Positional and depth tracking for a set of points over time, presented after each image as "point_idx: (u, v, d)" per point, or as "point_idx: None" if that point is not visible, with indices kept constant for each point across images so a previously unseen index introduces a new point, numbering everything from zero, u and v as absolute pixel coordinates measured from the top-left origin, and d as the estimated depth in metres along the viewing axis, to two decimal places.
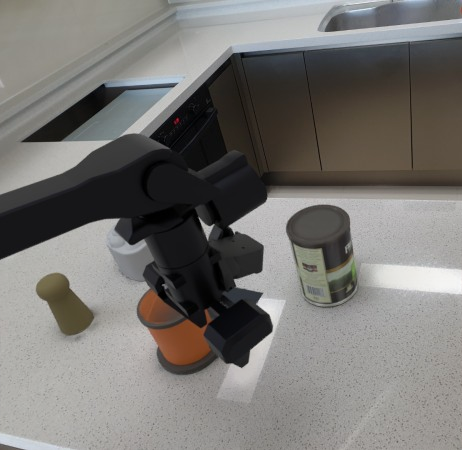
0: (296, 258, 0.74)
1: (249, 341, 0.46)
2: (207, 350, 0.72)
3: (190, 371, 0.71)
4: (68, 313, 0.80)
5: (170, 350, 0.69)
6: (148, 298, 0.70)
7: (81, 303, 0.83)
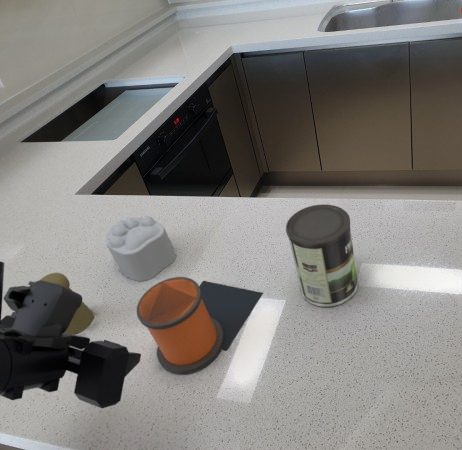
0: (296, 258, 0.74)
1: (116, 380, 0.48)
2: (207, 350, 0.72)
3: (190, 371, 0.71)
4: None
5: (170, 350, 0.69)
6: (148, 298, 0.70)
7: (81, 303, 0.83)
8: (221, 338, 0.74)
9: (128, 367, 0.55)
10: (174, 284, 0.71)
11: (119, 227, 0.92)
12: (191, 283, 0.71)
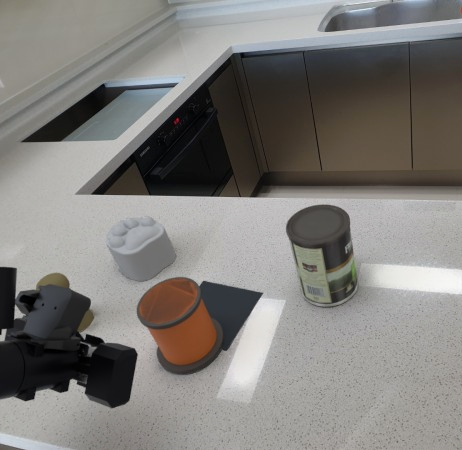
0: (296, 258, 0.74)
1: (125, 381, 0.50)
2: (207, 350, 0.72)
3: (190, 371, 0.71)
4: None
5: (170, 350, 0.69)
6: (148, 298, 0.70)
7: None
8: (221, 338, 0.74)
9: None
10: (174, 284, 0.71)
11: (119, 227, 0.92)
12: (191, 283, 0.71)
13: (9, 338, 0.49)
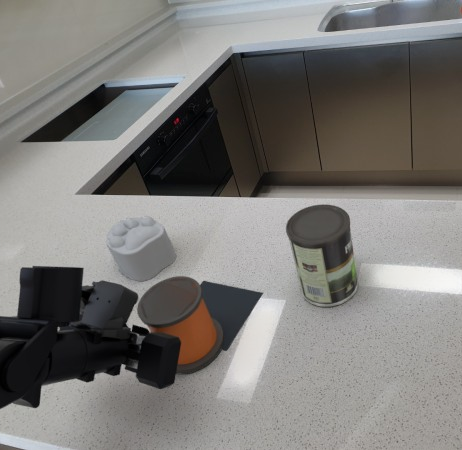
0: (296, 258, 0.74)
1: (171, 365, 0.57)
2: (207, 349, 0.72)
3: (190, 370, 0.71)
4: None
5: None
6: (149, 296, 0.70)
7: None
8: (221, 338, 0.74)
9: None
10: (175, 284, 0.72)
11: (119, 227, 0.92)
12: (192, 282, 0.71)
13: (70, 328, 0.56)
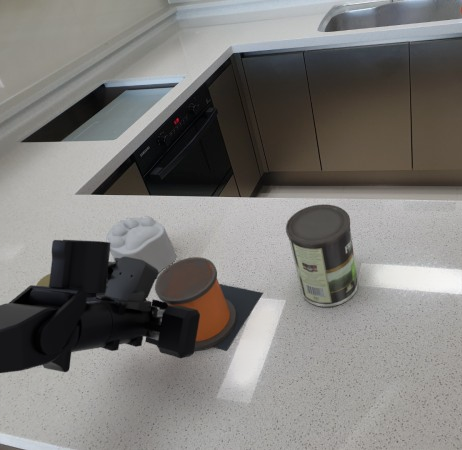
0: (296, 258, 0.74)
1: (191, 336, 0.60)
2: (222, 327, 0.75)
3: (206, 346, 0.74)
4: None
5: None
6: (165, 276, 0.73)
7: None
8: (234, 316, 0.78)
9: None
10: (189, 264, 0.75)
11: (119, 227, 0.92)
12: (206, 262, 0.74)
13: (95, 300, 0.59)
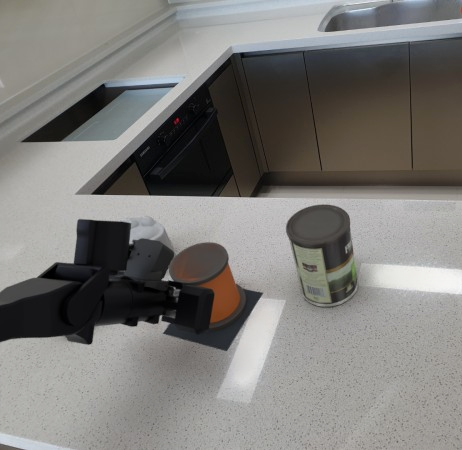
0: (296, 258, 0.74)
1: (206, 313, 0.62)
2: (233, 309, 0.78)
3: (218, 328, 0.77)
4: None
5: None
6: (178, 260, 0.76)
7: None
8: (244, 299, 0.81)
9: None
10: (201, 249, 0.77)
11: None
12: (217, 247, 0.77)
13: (115, 279, 0.61)
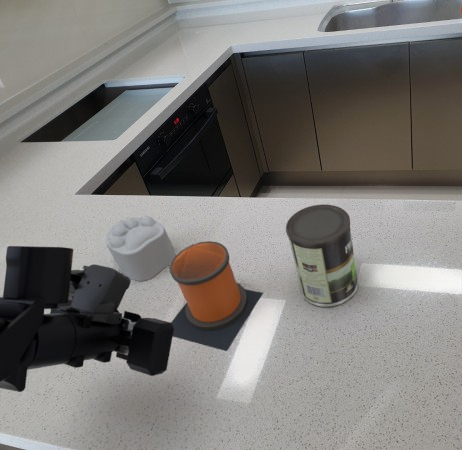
0: (296, 258, 0.74)
1: (163, 351, 0.55)
2: (233, 308, 0.78)
3: (219, 327, 0.77)
4: None
5: (201, 307, 0.75)
6: (179, 259, 0.76)
7: None
8: (245, 298, 0.81)
9: None
10: (202, 248, 0.78)
11: (119, 227, 0.92)
12: (218, 246, 0.77)
13: (59, 312, 0.54)
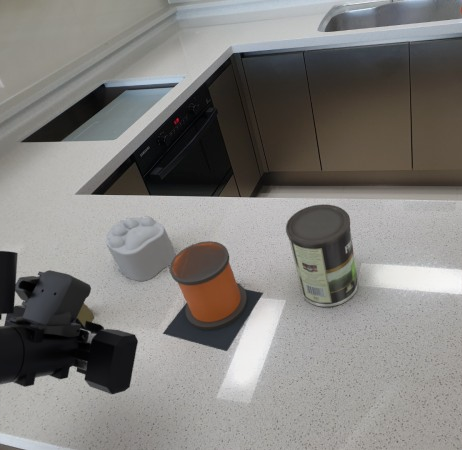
0: (296, 258, 0.74)
1: (125, 367, 0.49)
2: (233, 308, 0.78)
3: (219, 327, 0.77)
4: None
5: (201, 307, 0.75)
6: (179, 259, 0.76)
7: None
8: (245, 298, 0.81)
9: None
10: (202, 248, 0.78)
11: (119, 227, 0.92)
12: (218, 246, 0.77)
13: (8, 323, 0.48)
